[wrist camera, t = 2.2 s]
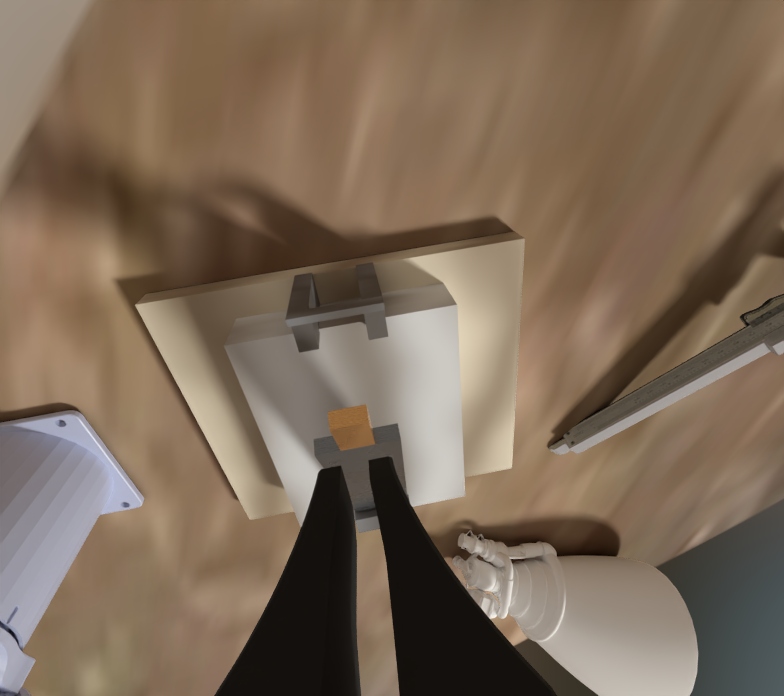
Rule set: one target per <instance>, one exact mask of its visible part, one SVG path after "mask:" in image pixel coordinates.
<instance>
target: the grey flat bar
mask: <svg viewBox="0 0 784 696" xmlns="http://www.w3.org/2000/svg"><path fill="white" fill-rule="evenodd" d="M328 420H329V430H330V432H331V434H332V436H328V437H323V438H317V439H313V440H314V454H315V457H316V458H317V460H318V461H319V463H320V464H321V465H322V467H323V468H324V469H325V468H330V467H335V466H340V465H341V467H342V470H343V474H344V477H345V481H346V484H347V487H348V491H349V494H350V498H351V501H352V505H353V509H354V510H355V511H356V512H359V511H364V510H369V509H374V508H375V503H374V498H373V494H372V489H371V484H370V476H369V461H368V460H371V459H377V458H382V457H387V456H389V457H391V458H393V463H394V466H395V470H396V473H397V475H398V478H399V480H400V483H401V485H402V487H403V489H404V492H405V494H406V496H407V488H406V480H405V471H404V462H403V453H402V444H401V437H400V432H399V427H398V423H396V424H391V425H386V426H380V427H375V428H373V427H372V424H371V420H370V416H369V413H368V409H367V405H366V404H365V405H360V406H355V407H349V408H344V409H339V410H333V411H328ZM407 498H408V497H407Z"/></svg>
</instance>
